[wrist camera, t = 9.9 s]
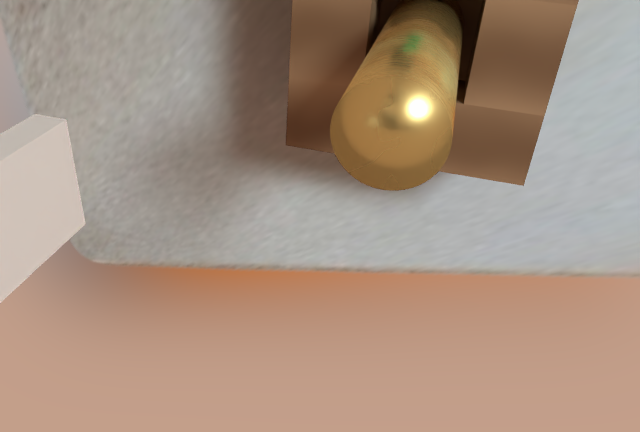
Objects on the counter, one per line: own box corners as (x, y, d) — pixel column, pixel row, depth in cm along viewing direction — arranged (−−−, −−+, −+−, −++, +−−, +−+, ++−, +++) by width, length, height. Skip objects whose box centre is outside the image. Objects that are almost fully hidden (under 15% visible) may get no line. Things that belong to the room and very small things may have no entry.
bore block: (334, -125, 29) (297, -123, 23) (580, -103, 27) (606, -95, 22) (317, 99, 36) (285, 145, 30) (516, 130, 34) (523, 185, 28)
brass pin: (395, -17, 28) (335, 67, 16) (470, -8, 27) (464, 86, 16) (385, 57, 30) (325, 179, 18) (455, 67, 29) (439, 199, 18)
